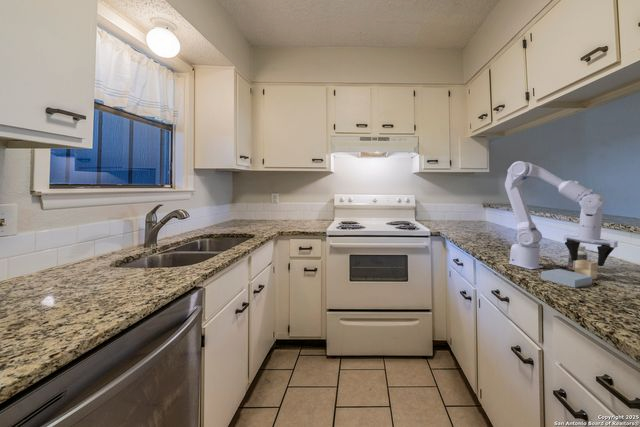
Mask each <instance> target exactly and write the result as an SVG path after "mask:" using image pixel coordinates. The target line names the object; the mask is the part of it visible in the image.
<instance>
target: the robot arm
mask: <svg viewBox="0 0 640 427" xmlns="http://www.w3.org/2000/svg"><path fill="white" fill-rule="evenodd" d="M529 177H535V178H539V179H541V180H542V181H545V183H548V184H550V185H552V186H554V187H556V188H557V189H558V193H559V194H560V195H562V196H565V197H566V198H567V199H570V200H571V201H573V202H574V203H578V204H579V206H580V208H581V209H580V213H579V224H578V235H577V236H576V235H569V234H568V235H567V234H565V235H563V241H565V242H564V245H565V246H566V248H567V249H568V253H569V252H570V255H571V260H572V261H576V260H577V258H578V249H579V245H581V243H582V244H589V245H596V246H597V254H598V255H597V256H598V258H597V262H598V267H602V266H603V267H604V265H605V263H606V260H607V259H608V257H609V256H610V254H611V253H612V252H613V251H614V250H615V248H618V243H619V242H618V241H615V240H610V239H604V238H601V233H602V224H603V223H602V222H603V221H602V220H603V207H602V206H604V203H605V198H604V196H602V195H601V194H600V193H599V192H594V190H593V189H592V188H590V189H589V188H587V187H585V186H583V185H581V184H580V181H578V180H564V179H562V178H561V177H558V176H557V175H555V174H554V173H551V172H550V171H548V170H546V168H544V167H541V166H539V165H535V164H534V163H531V162H526V161H522V160H518V161H515V162H513V163H512V164H511V165H510V166H509V168H508V169H507V174H506V178H505V182H504V187H505V190H506V193H507V194H506V195H507V196H508V200H509V202H510V206H511V208H512V212H513V213H514V217H515V220H516V223H517V226H516V233H517V235H516V240H517V242H518V243H513V244H512V245H511V248H510V251H509V252H510V253H509V262H508V264H509V265H513V266H517V267H519V268H520V267H521V268H524V269H528V270H536V269H543V268H544V265H540V264H539V263H540V250H541V245H540V244H539V242H541V241H542V238H543V234H542V232H541V231H540V230H539V229H538V228H537V225H536V223H534V221H533V220H532V217H531V214H530V211H529V208H528V206H527V203H526V200H525V196H524V194H523V190H522V187H521V185H522V184H523V183H524V182H525V180H527V179H528V178H529Z"/></svg>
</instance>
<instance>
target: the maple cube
mask: <svg viewBox="0 0 640 427" xmlns="http://www.w3.org/2000/svg"><path fill="white" fill-rule="evenodd" d="M598 270H599V266H598V261H594V260H590V259H589V260H588V259H587V260H584V259H582V260H576V262H575V270H574V272H575V273H579V274H583V275H588V276H592V277H593V278H592V280H596V279H598Z"/></svg>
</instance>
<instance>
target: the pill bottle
mask: <svg viewBox="0 0 640 427" xmlns="http://www.w3.org/2000/svg"><path fill="white" fill-rule="evenodd" d="M582 259H584V260H588V252H587V251H586V245H582V244H580V245H579V249H578V258H577V260H582ZM575 262H576V261H572V260H571V255H570V252H569V251H568V262H567V268H568V269H569V270H573V271H575Z"/></svg>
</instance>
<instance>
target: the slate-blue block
mask: <svg viewBox="0 0 640 427" xmlns="http://www.w3.org/2000/svg"><path fill="white" fill-rule="evenodd" d="M540 274H541V275H540V279H541V280H545V281H548V282H552V283H556V284H560V285H562V286H563V285H564V286H566V285H567V286H566V287H570V286H571V287H570V288H573V287H574V288H575V289H576V288H580V287H584V286H588V285H592V284H593V279H592V278H593V277H592V276H588V275H583V274H579V273H575V271H571V270H566V269H562V268H555V269H550V270H543V271H541V272H540Z"/></svg>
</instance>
